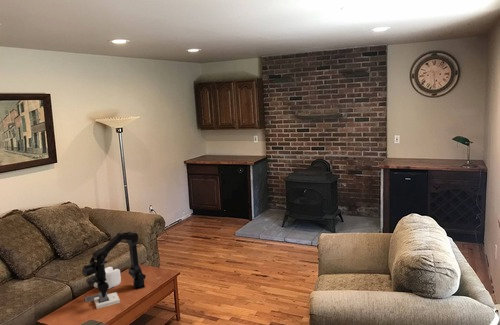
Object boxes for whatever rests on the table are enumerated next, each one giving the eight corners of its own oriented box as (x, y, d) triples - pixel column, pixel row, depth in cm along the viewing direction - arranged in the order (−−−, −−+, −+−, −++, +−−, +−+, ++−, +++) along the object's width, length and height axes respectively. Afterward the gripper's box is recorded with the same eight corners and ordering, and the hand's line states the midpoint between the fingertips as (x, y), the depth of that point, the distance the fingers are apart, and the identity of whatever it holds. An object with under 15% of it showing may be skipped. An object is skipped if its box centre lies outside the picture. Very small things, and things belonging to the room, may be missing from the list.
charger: (106, 299, 258) (105, 291, 257) (107, 302, 254) (106, 293, 253) (99, 301, 256) (98, 292, 255) (100, 304, 252) (99, 295, 251)
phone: (84, 298, 262) (84, 297, 262) (107, 293, 269) (106, 291, 268) (85, 303, 256) (85, 301, 256) (108, 297, 262) (108, 296, 262)
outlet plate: (116, 295, 264) (116, 292, 264) (120, 302, 254) (119, 299, 254) (94, 300, 258) (93, 297, 258) (96, 308, 247) (96, 305, 247)
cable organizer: (102, 292, 269) (100, 276, 267) (93, 288, 275) (91, 272, 273) (121, 284, 281) (120, 268, 279) (112, 280, 287) (110, 265, 285)
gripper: (84, 268, 256) (87, 291, 258) (88, 279, 240) (91, 304, 242) (103, 264, 261) (105, 287, 263) (107, 275, 245) (110, 299, 247)
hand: (102, 294), depth 254 cm, fingers open, 9 cm apart
